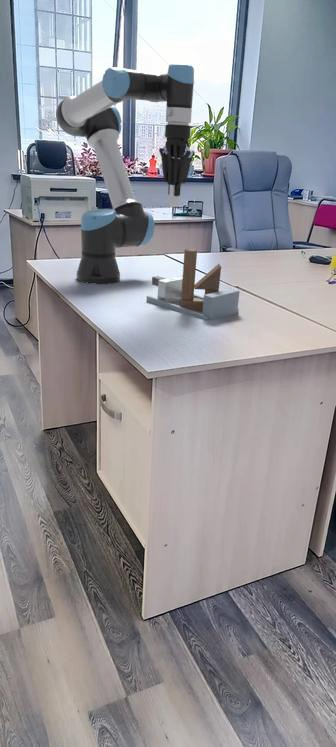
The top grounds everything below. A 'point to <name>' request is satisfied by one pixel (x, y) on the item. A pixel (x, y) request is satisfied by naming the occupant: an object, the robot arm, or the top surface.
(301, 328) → the top surface
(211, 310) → the vise base
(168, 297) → the sliding jaw
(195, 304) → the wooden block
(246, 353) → the top surface
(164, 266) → the top surface
